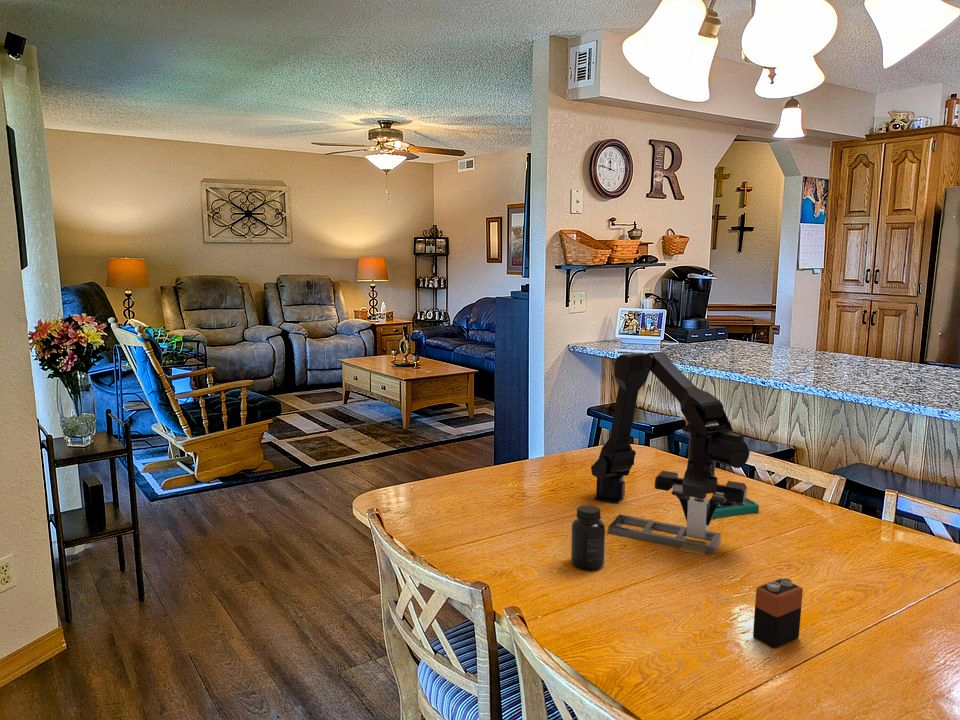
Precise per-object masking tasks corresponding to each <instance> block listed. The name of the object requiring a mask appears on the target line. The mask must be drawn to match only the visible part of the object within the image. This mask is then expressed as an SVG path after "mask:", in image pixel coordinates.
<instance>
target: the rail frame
mask: <svg viewBox="0 0 960 720" xmlns="http://www.w3.org/2000/svg"><path fill="white" fill-rule="evenodd" d="M623 524H626V525H633V526H637V527H641V528H643V529H642V530H638V529H633V528H628V527H624V526H622V525H623ZM654 530H657V531H663V532H669V533H673V534H676V535H675V537H673V536H668V535H664V534H659V533H654V532H653V531H654ZM686 530H687V526H684V525H678V524H673V523H668V522H661V521H657V520H652V519H646V518H641V517H637V516H636V517H635V516H630V515H625V514H620V513H619V514H618V515H617V516H616V518H615V519H613V521H612V522H611V523H610V524H609V525H608V527H607V531H608V534H612V535H617V536H621V537H622V536H623V537H627V538H632V539H638V540H642V541H648V542H651V543H658V544H662V545H665V546H666V545H667V546H671V547H677V548H679V551H681V552H687V553H691V554H695V555H700V556H704V555H705V554H711V555H715V553H716V551H717V549H718V546H719V544H720V542H721V537H722V535H721V534H722V533H720V532H717V531H716V532H715V531H711V530H708V534H707V536H706V538H705V539H704V540H709V541H710V542H709V543H703V542H701V541H700V542H699V541H694V540H689V539H685V537H686Z"/></svg>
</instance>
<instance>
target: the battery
mask: <svg viewBox="0 0 960 720" xmlns="http://www.w3.org/2000/svg"><path fill="white" fill-rule="evenodd" d="M755 590H756V591H755V602H754V615H753V616H754V617H753V631H752V636H753V639H756V640H758V641H760V642H762V643H764V644H765V645H767V646H769V647H770V648H773V649H776V648H779V647H780V646H783V645H785V644H787V643H790V642H792V641H793V640H796V639H799V637H800V627H801V618H802V617H801V616H802V606H803V605H802V602H803V592H804V589H803V587H801V586H799V585H798V584H795V583H793V581H792V580H791V579H790V578H788V577H787V578H785V577H784V578H782V577H781V578H779V579H775V580H773V581H768V582H766V583H765V584H761V585H759V586H757V587H756V589H755Z"/></svg>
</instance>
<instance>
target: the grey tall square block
mask: <svg viewBox="0 0 960 720" xmlns="http://www.w3.org/2000/svg"><path fill="white" fill-rule="evenodd" d="M710 499H711V497H706V498H704V499H698V498H696V497H690V499H689V500H688V512H687V521H686V527H687V530H686V536H687V537H692V538H696V539H702V540H706V539H705V538H706V536H707V534H708V531H709V526H710V525H709V526H707V517H708V512H709V506H710ZM686 536H685V537H686Z"/></svg>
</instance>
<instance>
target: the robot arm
mask: <svg viewBox="0 0 960 720" xmlns="http://www.w3.org/2000/svg"><path fill="white" fill-rule="evenodd" d="M613 371H614V374H613V377H614V380H615V381H616V384H617V386H618V388H617V394H616V398H615V399H616V401H615V406H614V411H613V417H612V422H611V423H612V424H611V429H610V434H609V438H608V439H607V441H606V442H605V443H604V444H603V445H602V447H601V450H600V453H599V457H598V459H597V460H596V461H595V462H593V464H592V465H591V466H590V471H591V475H592V476H594V477H596V489H595V490H596V492H595V493H596V494H595V496H594V497H593V500H598V501H604V502H608V503H616V504H618V503H620V502H621V501H622V499H623V498H624V497H625V496H626V495H625V494H626V493H625V492H626V482H625V481H624V477H625V476H629V474H630V471H631V469H632V467H633V466H634V465H635V458H636V452H637V451H636V450H635V449H633V448H632V445H631V444H630V439H631V435H632V434H631V433H632V427H633V422H634V419H635V418H634V417H635V411H636V405H637V401H638V395H639V391H640V389H641V388H642V387H643V386H644V384H645V383H646V382H647V381H648V377H649V374H650V372H651V373H652V374H653V375H654V376H655V377H656V379H657V380H659V381H660V383H661V384H662V385H663V386H664V387H665V388H666V389H667V391H669V393H671V395H672V396H674V398H675V399H676V400H677V401H678V403H679V405H680V407H679V408H680V412H681V414H682V415H683V416H684V418H685V420H686V421H687V424H686V425H685V426H683V427H682V429H681V430H682V432H685V433H688V434H689V436H688V437H689V439H688V452H687V453H688V454H687V455H688V456H687V457H688V458H687V467H686V470H685V471H684V475H683V478H679V474H678V472H674V471H668V470H667V471H666V470H662V471H660V472H659V473H658V474H657V475H656V477H655V479H654V489H656V490H661V491H666V492H668V491H670V490H672V491H671V494H672V496H676V498H677V499H678V500H679V503H680V505H681V507H682V510H683V514H684V515H683V516H684V518H685V521H686V522H687V512H688V500H689V499H690V497H696V498H698V499H704V498H707V495H708V494H709V495H710V494H712V495H711V497H710V506H709V512H708V517H707V526H710V525H711V521H712V520H713V519H712V517H713V515H714V512H715V510H716V508H717V506H718V505H719V503H725V501H726V500H727V501H731V502H737V503H743V502H744V500H745V497H746V498H747V492H748V491H747V490H748V488H747V487H748V486H747V485H746V484H745V483H744V482H738V481H731V480H727V482H726V484H719V482H718V481H719V480H718V476H715V475H716V462H717V463H720V464H723V465H726V466H729V467H732V468H734V469H740V468H742V467H744V466H745V464H747V462H748V460H749V457H750V448H749V446H748V444H747V443H746V442H745V441H744V436H743V434H739V433H733V431H734V430H733V426H732V424H731V422H730V420H729V418H728V416H727V413H726V412H725V409H724V405H723V403H722V401H721V400H720V399H719V398H717V397H716V396H714V395H713V394H712V393H710V392H708V391H706V390H705V391H704V390H702V389H700V388H699V387H697V386H696V385H695V384H693V382H692V381H691V380H690V379H689V378H688V377H687V375H685V374H684V373H683V372H682V371H681V370H680V369H679V368H678V367H677V365H675V364H674V363H673V361H671V359H669V356H668V354H667V353H665V352H663V351H655V352H648V353H639V352H638V353H628V354H625V353H624V354H621V355H620V354H619V356H617V357H616V359H615V361H614V370H613Z"/></svg>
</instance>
